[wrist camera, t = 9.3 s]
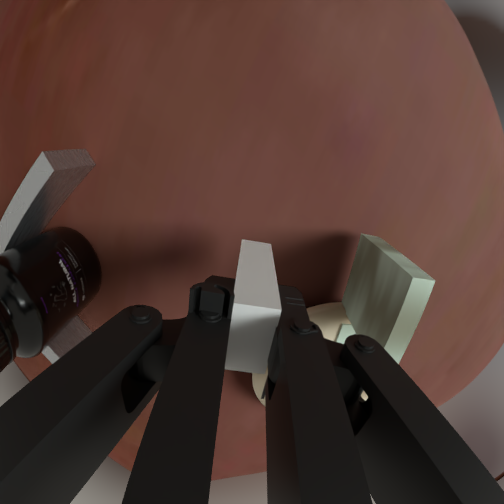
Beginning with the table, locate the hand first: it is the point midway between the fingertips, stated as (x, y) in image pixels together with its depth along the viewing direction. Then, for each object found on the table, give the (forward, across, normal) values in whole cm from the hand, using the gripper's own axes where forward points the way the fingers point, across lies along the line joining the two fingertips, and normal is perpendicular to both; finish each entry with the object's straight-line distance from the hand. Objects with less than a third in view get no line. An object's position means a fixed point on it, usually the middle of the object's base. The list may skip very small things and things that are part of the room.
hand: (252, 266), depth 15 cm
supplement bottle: (+5, -14, -4) cm, 16 cm away
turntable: (+3, +7, -6) cm, 10 cm away
